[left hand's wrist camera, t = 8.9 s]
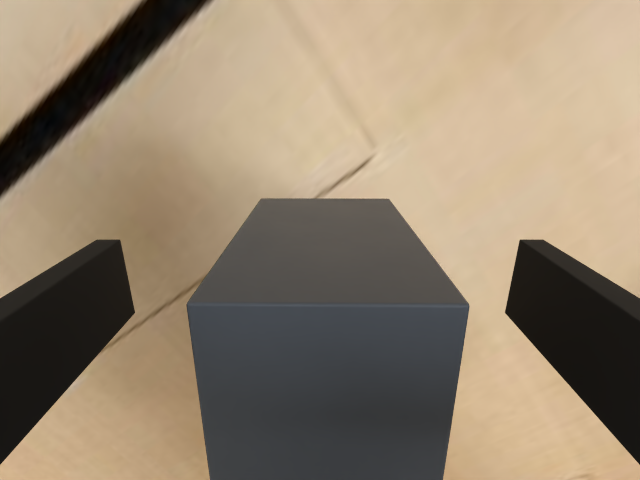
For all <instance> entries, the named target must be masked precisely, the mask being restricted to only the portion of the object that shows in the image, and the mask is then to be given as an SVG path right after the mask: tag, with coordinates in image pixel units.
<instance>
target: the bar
mask: <svg viewBox="0 0 640 480" xmlns="http://www.w3.org/2000/svg"><path fill="white" fill-rule="evenodd" d="M187 312H188V319H189V327H190V334H191V341H192V349H193V356H194V364H195V371H196V378H197V386H198V393H199V401H200V408H201V416H202V423H203V430H204V438H205V445H206V453H207V460H208V467H209V475H210V480H443V475H444V469H445V462H446V456H447V449H448V442H449V436H450V429H451V423H452V416H453V410H454V403H455V397H456V390H457V384H458V377H459V371H460V364H461V358H462V351H463V345H464V338H465V332H466V325H467V319H468V312H469V304H468V302H467V301H466V300H465V298H464V297H463V296H462V294H461V293H460V292H459V290H458V289H457V288H456V287H455V285H454V284H453V283H452V281H451V280H450V279H449V277H448V276H447V275H446V273H445V272H444V271H443V269H442V268H441V267H440V265H439V264H438V263H437V262H436V260H435V259H434V258H433V256H432V255H431V254H430V252H429V251H428V250H427V248H426V247H425V246H424V244H423V243H422V242H421V240H420V239H419V238H418V237H417V235H416V234H415V233H414V231H413V230H412V229H411V227H410V226H409V225H408V223H407V222H406V221H405V219H404V218H403V217H402V216H401V214H400V213H399V212H398V210H397V209H396V208H395V206H394V205H393V204H392V202H391V201H390V200H389V199H261V200H260V201H259V202H258V204H257V205H256V207H255V208H254V209H253V211H252V212H251V214H250V215H249V216H248V218H247V219H246V221H245V222H244V224H243V225H242V226H241V228H240V229H239V231H238V232H237V233H236V235H235V236H234V238H233V239H232V240H231V242H230V243H229V245H228V246H227V247H226V249H225V250H224V252H223V253H222V254H221V256H220V257H219V259H218V260H217V262H216V263H215V264H214V266H213V267H212V269H211V270H210V271H209V273H208V274H207V276H206V277H205V278H204V280H203V281H202V283H201V284H200V285H199V287H198V288H197V290H196V291H195V292H194V294H193V295H192V297H191V298H190V299H189V301H188V302H187Z"/></svg>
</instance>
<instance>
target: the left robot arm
mask: <svg viewBox="0 0 640 480" xmlns="http://www.w3.org/2000/svg"><path fill="white" fill-rule="evenodd" d="M134 313H135V310H134V306H133V301H132V296H131V291H130V286H129V281H128V276H127V271H126V266H125V261H124V256H123V251H122V246H121V241H120V240H96V241H94V242H92V243H91V244H89V245H87V246H86V247H84V248H82V249H81V250H79V251H78V252H76V253H74V254H73V255H71V256H69V257H68V258H66V259H64V260H63V261H61V262H59V263H58V264H56V265H55V266H53V267H51V268H50V269H48V270H46V271H45V272H43V273H41V274H40V275H38V276H36V277H35V278H33V279H31V280H30V281H28V282H27V283H25V284H23V285H22V286H20V287H18V288H17V289H15V290H13V291H12V292H10V293H8V294H7V295H5V296H4V297H2V298H0V464H1V463H2V462H3V461H4V460H5V459H6V458H7V456H8V455H9V454H10V453H11V452H12V451H13V450H14V448H15V447H16V446H17V445H18V444H19V443H20V442H21V441H22V439H23V438H24V437H25V436H26V435H27V434H28V433H29V432H30V430H31V429H32V428H33V427H34V426H35V425H36V424H37V423H38V421H39V420H40V419H41V418H42V417H43V416H44V415H45V414H46V412H47V411H48V410H49V409H50V408H51V407H52V406H53V405H54V403H55V402H56V401H57V400H58V399H59V398H60V397H61V396H62V394H63V393H64V392H65V391H66V390H67V389H68V388H69V386H70V385H71V384H72V383H73V382H74V381H75V380H76V379H77V377H78V376H79V375H80V374H81V373H82V372H83V371H84V370H85V368H86V367H87V366H88V365H89V364H90V363H91V362H92V361H93V359H94V358H95V357H96V356H97V355H98V354H99V353H100V352H101V350H102V349H103V348H104V347H105V346H106V345H107V344H108V343H109V341H110V340H111V339H112V338H113V337H114V336H115V335H116V333H117V332H118V331H119V330H120V329H121V328H122V327H123V326H124V324H125V323H126V322H127V321H128V320H129V319H130V318H131V317H132V315H133V314H134ZM505 313H506V314H507V315H508V317H509V318H510V319H511V320H512V321H513V322H514V323H515V324H516V326H517V327H518V328H519V329H520V330H521V331H522V332H523V333H524V335H525V336H526V337H527V338H528V339H529V340H530V341H531V343H532V344H533V345H534V346H535V347H536V348H537V349H538V350H539V352H540V353H541V354H542V355H543V356H544V357H545V358H546V359H547V361H548V362H549V363H550V364H551V365H552V366H553V367H554V368H555V370H556V371H557V372H558V373H559V374H560V375H561V376H562V377H563V379H564V380H565V381H566V382H567V383H568V384H569V385H570V386H571V388H572V389H573V390H574V391H575V392H576V393H577V394H578V396H579V397H580V398H581V399H582V400H583V401H584V402H585V403H586V405H587V406H588V407H589V408H590V409H591V410H592V411H593V412H594V414H595V415H596V416H597V417H598V418H599V419H600V420H601V421H602V423H603V424H604V425H605V426H606V427H607V428H608V429H609V430H610V432H611V433H612V434H613V435H614V436H615V437H616V438H617V439H618V441H619V442H620V443H621V444H622V445H623V446H624V447H625V448H626V450H627V451H628V452H629V453H630V454H631V455H632V456H633V458H634V459H635V460H636V461H637V462H638V463H639V464H640V298H638V297H636V296H635V295H633V294H632V293H630V292H628V291H627V290H625V289H623V288H622V287H620V286H618V285H617V284H615V283H613V282H612V281H610V280H609V279H607V278H605V277H604V276H602V275H600V274H599V273H597V272H595V271H594V270H592V269H590V268H589V267H587V266H585V265H584V264H582V263H581V262H579V261H577V260H576V259H574V258H572V257H571V256H569V255H567V254H566V253H564V252H562V251H561V250H559V249H558V248H556V247H554V246H553V245H551V244H549V243H548V242H546V241H544V240H520V241H519V246H518V251H517V256H516V261H515V266H514V271H513V276H512V281H511V286H510V291H509V296H508V301H507V306H506V310H505Z"/></svg>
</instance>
